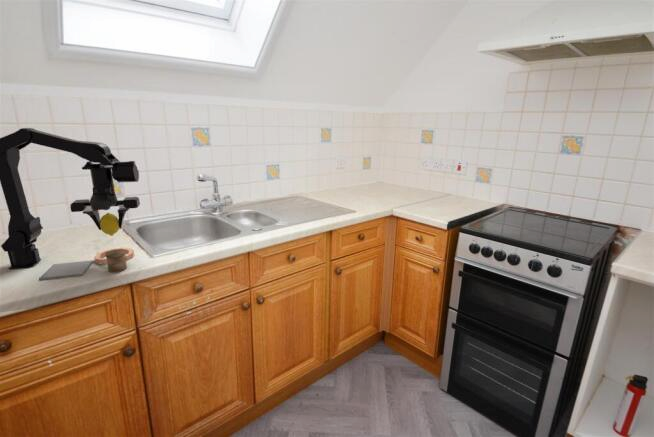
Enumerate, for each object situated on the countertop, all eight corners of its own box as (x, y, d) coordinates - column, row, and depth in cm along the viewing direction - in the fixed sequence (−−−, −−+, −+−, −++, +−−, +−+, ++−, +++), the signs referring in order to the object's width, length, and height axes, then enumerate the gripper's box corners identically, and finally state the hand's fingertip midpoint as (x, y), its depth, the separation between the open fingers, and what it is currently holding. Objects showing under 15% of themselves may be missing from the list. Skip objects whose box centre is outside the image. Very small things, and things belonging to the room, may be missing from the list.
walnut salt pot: (106, 273, 108) (103, 256, 106) (110, 267, 113) (107, 250, 111) (125, 271, 110) (123, 254, 108) (129, 265, 115) (126, 248, 113)
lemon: (124, 233, 121) (120, 210, 119) (115, 238, 116) (111, 214, 113) (108, 233, 121) (104, 210, 119) (98, 238, 115) (94, 214, 113)
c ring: (91, 265, 113) (90, 261, 113) (100, 253, 124) (99, 249, 123) (130, 261, 117) (130, 257, 117) (136, 250, 127) (135, 246, 127)
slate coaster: (39, 280, 103) (38, 278, 103) (53, 265, 113) (53, 264, 113) (82, 275, 107) (82, 273, 106) (93, 261, 117) (92, 260, 116)
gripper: (59, 189, 103) (69, 239, 107) (130, 185, 109) (137, 233, 113) (72, 182, 113) (81, 228, 117) (136, 180, 119) (143, 224, 123)
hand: (110, 229), depth 118 cm, fingers closed on lemon, 5 cm apart
